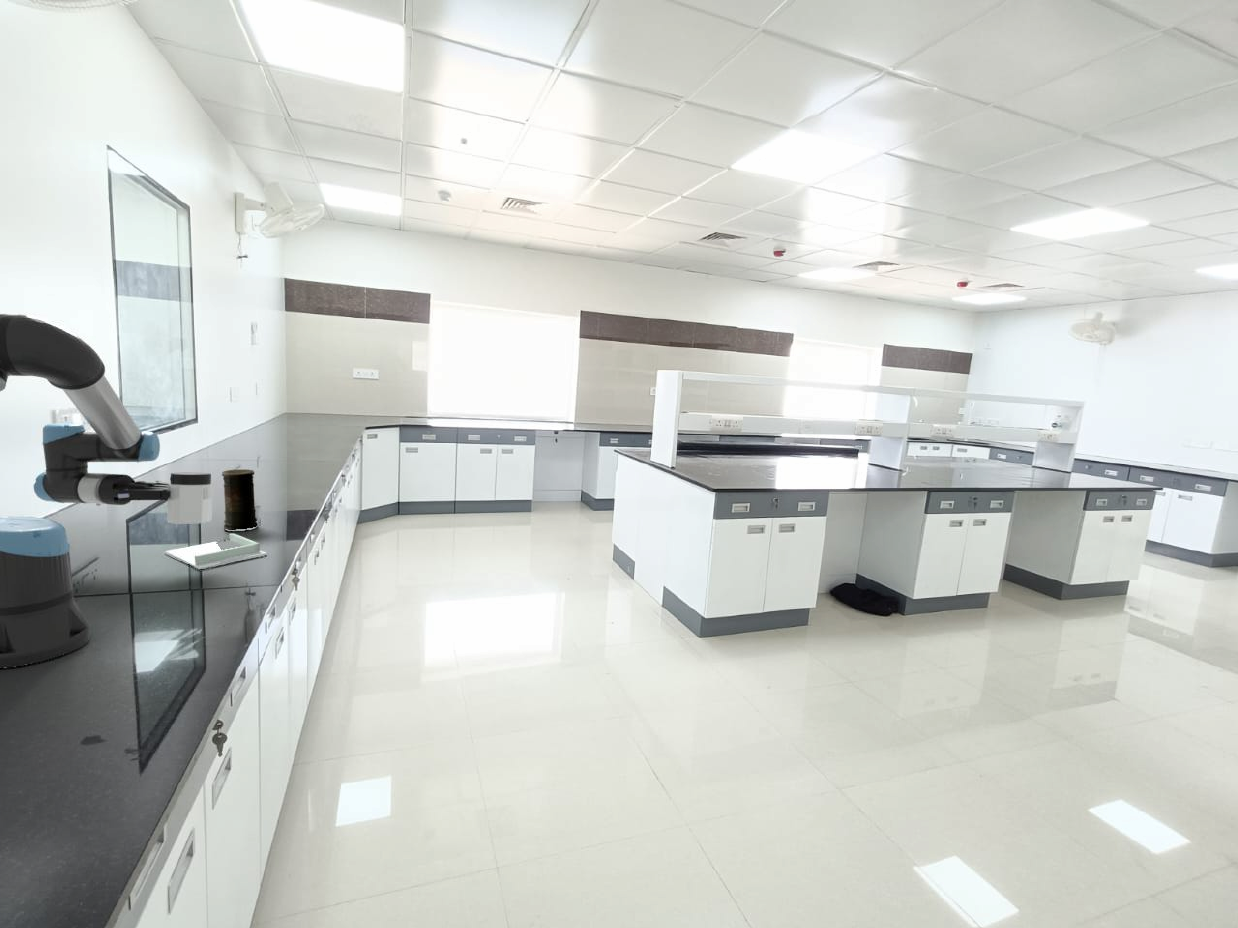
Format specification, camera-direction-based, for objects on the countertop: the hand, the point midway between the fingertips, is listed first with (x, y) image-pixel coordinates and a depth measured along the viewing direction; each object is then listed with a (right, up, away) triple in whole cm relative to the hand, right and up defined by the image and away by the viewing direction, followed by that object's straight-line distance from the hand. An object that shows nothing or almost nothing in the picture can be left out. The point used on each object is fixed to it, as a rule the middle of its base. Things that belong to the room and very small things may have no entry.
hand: (206, 493), depth 146 cm
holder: (-6, -17, +12) cm, 22 cm away
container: (-15, -13, +38) cm, 43 cm away
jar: (-5, -7, +1) cm, 9 cm away
